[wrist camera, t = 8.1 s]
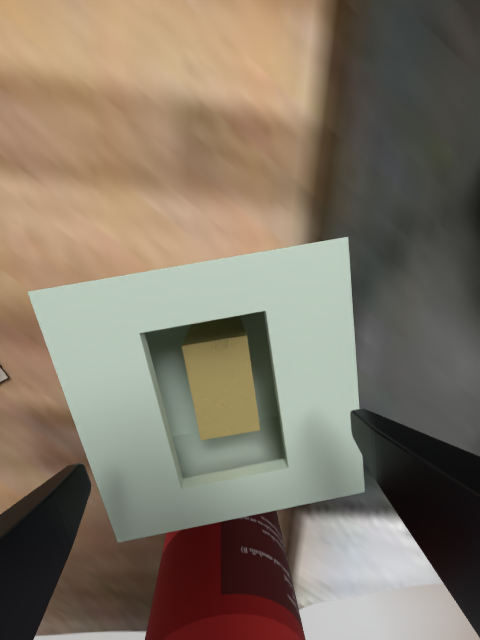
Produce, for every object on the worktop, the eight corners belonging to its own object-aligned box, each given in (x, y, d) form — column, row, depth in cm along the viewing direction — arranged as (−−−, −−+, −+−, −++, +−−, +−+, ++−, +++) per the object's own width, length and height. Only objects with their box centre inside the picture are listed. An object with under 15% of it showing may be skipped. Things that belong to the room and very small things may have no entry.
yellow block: (239, 313, 17) (247, 335, 12) (249, 384, 18) (260, 430, 13) (192, 320, 17) (181, 345, 12) (206, 391, 18) (200, 440, 13)
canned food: (172, 537, 21) (124, 818, 11) (174, 451, 19) (119, 686, 9) (265, 535, 22) (309, 799, 11) (276, 453, 20) (339, 673, 9)
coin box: (295, 246, 17) (348, 237, 10) (314, 411, 20) (364, 492, 13) (107, 278, 16) (27, 291, 10) (154, 442, 19) (117, 542, 12)
